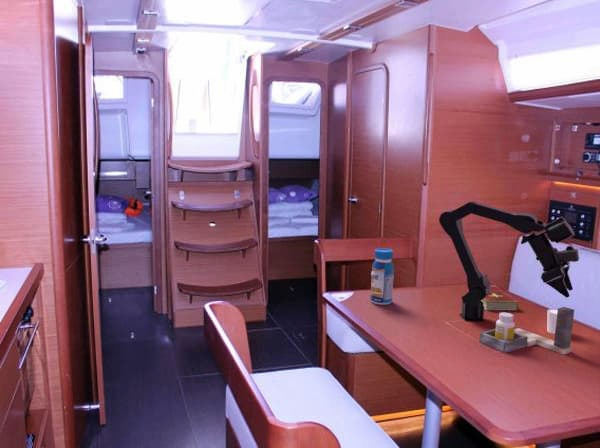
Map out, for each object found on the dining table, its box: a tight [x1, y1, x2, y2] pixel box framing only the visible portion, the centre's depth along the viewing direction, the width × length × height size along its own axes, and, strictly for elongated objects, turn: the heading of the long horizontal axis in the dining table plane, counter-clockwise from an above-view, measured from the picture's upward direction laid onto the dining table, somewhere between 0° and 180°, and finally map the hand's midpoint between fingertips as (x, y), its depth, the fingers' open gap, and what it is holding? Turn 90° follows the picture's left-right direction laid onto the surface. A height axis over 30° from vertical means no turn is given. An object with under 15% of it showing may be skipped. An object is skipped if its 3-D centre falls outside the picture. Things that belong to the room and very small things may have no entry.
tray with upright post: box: [479, 306, 575, 355], centre depth 164 cm, size 19×18×13 cm
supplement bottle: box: [495, 311, 516, 341], centre depth 166 cm, size 5×5×10 cm
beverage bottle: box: [370, 247, 395, 306], centre depth 204 cm, size 8×8×20 cm
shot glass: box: [546, 308, 558, 335], centre depth 178 cm, size 7×7×7 cm
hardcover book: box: [481, 285, 519, 311], centre depth 209 cm, size 12×21×4 cm, turn 2°
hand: (569, 293), depth 172 cm, fingers open, 9 cm apart
